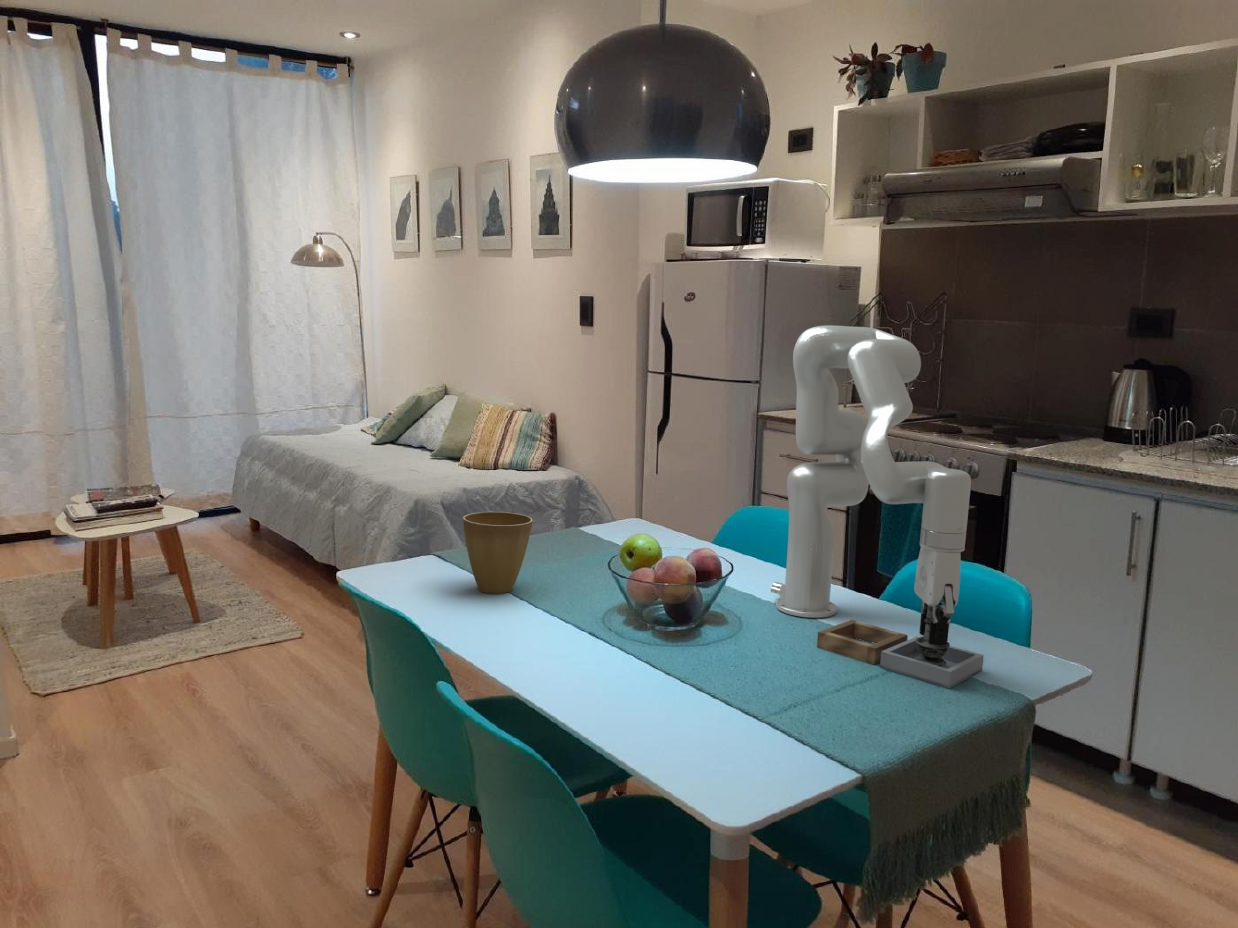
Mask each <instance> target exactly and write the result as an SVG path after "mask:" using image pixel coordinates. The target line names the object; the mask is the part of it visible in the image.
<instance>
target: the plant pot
mask: <svg viewBox="0 0 1238 928" xmlns="http://www.w3.org/2000/svg"><path fill="white" fill-rule="evenodd" d="M462 519H463V520H462V521H463V530H464V538H465V545H466V551H467V555H468V559H469V564H470V567H471V572H472V575H473V578H474V582H475V584H476V586H477V587H476V588H477V589H478V591H479V592H481V593H485V594H493V595H495V594H497V595H499V594H507V593H510V592H511V591H513V588H514V586H515V584H516V581H517V579H518V576H519V574H520V571H521V568H522V565H523V562H524V558H525V556H526V552H527V549H528V544H529V540H530V539H529V538H530V535H531V532H532V531H531V530H532V523H533V518H531V517H530V516H528V515H525V514H521V513H515V512H507V511H479V512H473V513H469V514H466V515H464V516H462Z"/></svg>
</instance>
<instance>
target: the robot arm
mask: <svg viewBox="0 0 1238 928" xmlns="http://www.w3.org/2000/svg"><path fill="white" fill-rule="evenodd" d="M921 360H922V359H921V355H920V353H919V351H918V349H917V347H916V346H915V345H914V344H913V343H912V342H910V341H909V340H907V339H904V338H903V337H899V336H896V335H894V334H891V333H888V332H886V331H883V330H880V329H878V328H874V327H868V326H867V327H866V326H847V325H818V326H814V327H810V328H807V329H806V330H804V331H803V332H802V333H801V334H800V335H799V336H798V338H797V341H796V342H795V345H794V347H793V355H792V364H793V365H792V366H793V372H794V378H795V384H796V401H795V403H796V404H795V405H796V406H795V408H796V409H795V411H796V412H795V443H796V446H797V449H798V450H799V451H800V452H801V453H802V454H804V455H807V456H815V457H816V456H817V457H818V456H820V457H821V456H825V457H826V456H835V458H836V460H835V461H811V462H804V463H801V464H800V463H799V464H798V465H797V466H794V467H793V468H792V469H791V470H790V472H789V474H788V475H787V480H786V491H787V497H788V498H787V500H788V512H789V513H788V515H789V516H788V518H789V520H788V532H787V533H788V538H787V540H788V541H787V550H786V551H787V552H786V553H787V555H786V568H785V583H782V582H778V581H774V582H772V585H771V587H770V592H771V593H773V594H778V595H779V598H778V599H777V600H776V608H777V610H779V611H780V612H782V613H785V614H787V615H790V616H795V617H801V618H810V619H811V618H812V619H813V618H815V619H816V618H818V619H820V618H828V617H832V616H834V615H835V614H836V613H837V610H838V609H837V605H836V604H835V603H833V602H831V587H832V574H833V563H834V562H833V561H834V550H835V549H834V547H835V534H836V533H835V524H834V522H833V520H832V517H831V516H830V513H829V512H828V508H838V507H839V508H841V507H851V506H856V505H858V504H860V503H861V502H863V501H864V500H865V498H866V496H867V493H868V491H869V486H870V489H871V491H872V493H873V494H874V495H875V497H876V498H877V499H878V500H879V501H880V502H882V503H884V504H888V505H904V504H922V515H921V523H920V525H921V528H920V537H919V538H920V539H919V546H920V550H919V552H918V553H919V554H918V557H917V566H916V571H915V579H914V587H913V590H914V593H915V594H916V596H917V597H919V599H921V601H922V602H921V607H920V612H921V613H920V622H919V635H920V636H923V635H924V632H925V625H926V623H925V622H924V620H925V619H927V609H928V606H930V607H933V619H932V620H933V622H930V629H929V640H928V642H929V644H931V645H947V642H948V640H949V630H950V624H951V618H952V616H953V615H954V613H955V607H956V606H958V602H959V597H960V596H959V595H960V587H961V586H960V585H961V567H962V566H961V553H962V552H964V551H965V549H966V547H965V545H966V539H967V527H968V516H969V509H970V508H969V507H970V499H971V498H970V496H971V489H972V488H971V486H972V478H971V475H970V474H969V473H968V472H966V471H965V470H961V469H957V468H949V467H946V466H944V465H942V464H940V463H937V462H935V461H928V460H926V461H925V460H924V461H895V459H894V457H893V455H892V452H891V449H890V446H889V442H888V434H889V429H891V428H893V427H895V426H897V425H899V424H900V423H902V422H903V421H905V420H906V419H907V418H909V416H910V415H911V414H912V412H913V410H914V406H913V402H912V400H911V398H910V394H909V391H908V389H907V387H906V384H907V383H910V382H913V381H914V380H915V379H916V378H918V376H919V374H920V372H921V367H922V361H921ZM830 369H849V372H850V374H851V375H850V376H851V378H852V381H853V382H854V386H855V388H856V391H857V393H858V396H859V399H860V402H861V404H862V408H863V409H864V412H865V415H866V419H867V420H866V419H865V417H864V416H863V415H862V413H859V412H858V411H857V410H856V411H855V410H852V409H839V396H840V395H839V388H838V384H837V381H836V379H835V378H834V376H833V374H832V373H831V372H830ZM939 602H941V603H943V605H938V604H939ZM938 609H943V611H940V612H939V613H938ZM948 643H949V642H948Z"/></svg>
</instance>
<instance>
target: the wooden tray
mask: <svg viewBox="0 0 1238 928" xmlns="http://www.w3.org/2000/svg"><path fill="white" fill-rule="evenodd" d="M908 636H909V635H908V634H906V633H902V632H898V631H896V630H895V631H894V630H891V629H888V628H883V627H881V626H876V625H872V624H869V623H866V622H862V621H859V620H854V619H850V620H847V621H844V622H842V623H839V624H836V625H833V626H830V627H828V628H825V629H822V630H819V631H818V632H817V641H816V642H817V643H816V648H819V649H821V650H822V649H823V650H825V651H828V652H831V653H835V654H837V655H841V656H844V657H848V658H851V659H854V660H857V661H861V662H863V663H867V664H870V665H877V664H879V663H880V661H881V651H884V650H886V649H888V648H891V647H893V646H895V645H898V644H900V643H902V642H905V641H907V640H908ZM856 638H857V639H856ZM859 639H861V640H859ZM863 640H864V641H863ZM870 642H874V643H875V644H873V643H870Z"/></svg>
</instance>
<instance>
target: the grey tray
mask: <svg viewBox="0 0 1238 928" xmlns="http://www.w3.org/2000/svg"><path fill="white" fill-rule="evenodd" d="M917 638H919V636H915V637H912V638H909V639H907V641H905V642H902V643H900V644H898V645H895V646H893V647H891V648H888V649H886V650H884V651H881V661H880V662H879V663H880V664H879V668H880V669H883V670H887V671H890V672H893V673H896V674H900V675H903V676H906V677H909V678H912V679H915V680H919V681H922V682H926V683H929V684H933V685H935V686H939V687H942V688H945V689H951V688H953V687H955V686H956V685H959V684H961V683H962V681H963V682H964V680H965V681H966V680H968V679H970V678H972V677H974V676H976V675H978V674H980V673H981V672H983V667H984V658H985V657H984V656H985V655H984V654H982V653H977V652H974V651H971V650H967V649H964V648H960V647H955V646H952V645H950V646H949V647H948V649H947V652H946V654H945V655H944V656H942V657H940V658H942V659H943V660H945V661H946V665H945V666H942V667H940V666H936V665H933V664H929V663H926V662H923V661H919V660H916V657H918V656H920V655H922V654H921V653H920V652H919V651H918V648H917V643H916V639H917ZM960 682H961V683H960ZM958 683H959V684H958Z"/></svg>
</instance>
